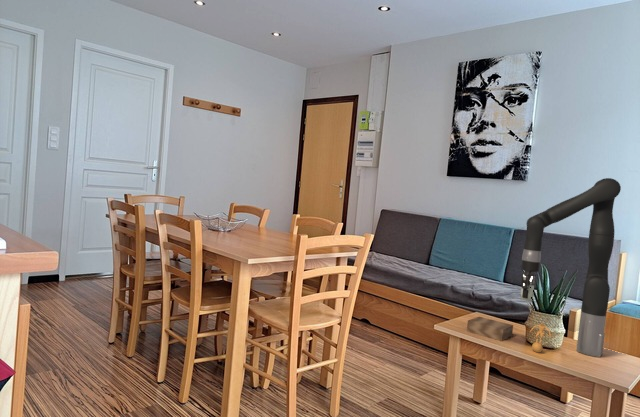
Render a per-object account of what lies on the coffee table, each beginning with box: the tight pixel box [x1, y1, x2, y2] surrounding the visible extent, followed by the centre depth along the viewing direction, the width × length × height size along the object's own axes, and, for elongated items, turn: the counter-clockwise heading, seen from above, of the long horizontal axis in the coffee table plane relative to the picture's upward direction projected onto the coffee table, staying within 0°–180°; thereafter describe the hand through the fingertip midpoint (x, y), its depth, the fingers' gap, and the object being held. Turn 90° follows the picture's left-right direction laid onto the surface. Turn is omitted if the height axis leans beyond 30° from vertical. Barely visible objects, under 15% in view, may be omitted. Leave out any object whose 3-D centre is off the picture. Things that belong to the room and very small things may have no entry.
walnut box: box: [466, 316, 514, 342], centre depth 208 cm, size 16×14×5 cm
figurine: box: [529, 322, 552, 353], centre depth 187 cm, size 8×6×12 cm
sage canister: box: [519, 285, 535, 302], centre depth 203 cm, size 5×5×7 cm
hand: (526, 297), depth 203 cm, fingers closed on sage canister, 5 cm apart
